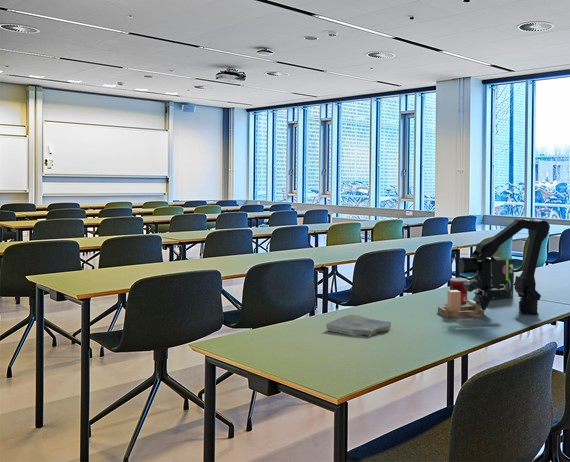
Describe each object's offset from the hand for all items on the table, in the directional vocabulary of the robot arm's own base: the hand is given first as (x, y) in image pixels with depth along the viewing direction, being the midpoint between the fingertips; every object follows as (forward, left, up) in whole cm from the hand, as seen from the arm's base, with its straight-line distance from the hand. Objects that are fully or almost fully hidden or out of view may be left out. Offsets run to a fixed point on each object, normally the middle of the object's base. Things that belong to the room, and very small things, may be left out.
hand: (483, 310), depth 249 cm
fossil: (+51, +31, -3) cm, 59 cm away
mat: (+8, +15, -2) cm, 17 cm away
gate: (+3, -5, -1) cm, 6 cm away
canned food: (+7, -23, -2) cm, 24 cm away
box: (-12, -39, -2) cm, 41 cm away
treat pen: (+10, -2, -2) cm, 11 cm away
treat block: (+13, +4, -2) cm, 13 cm away
